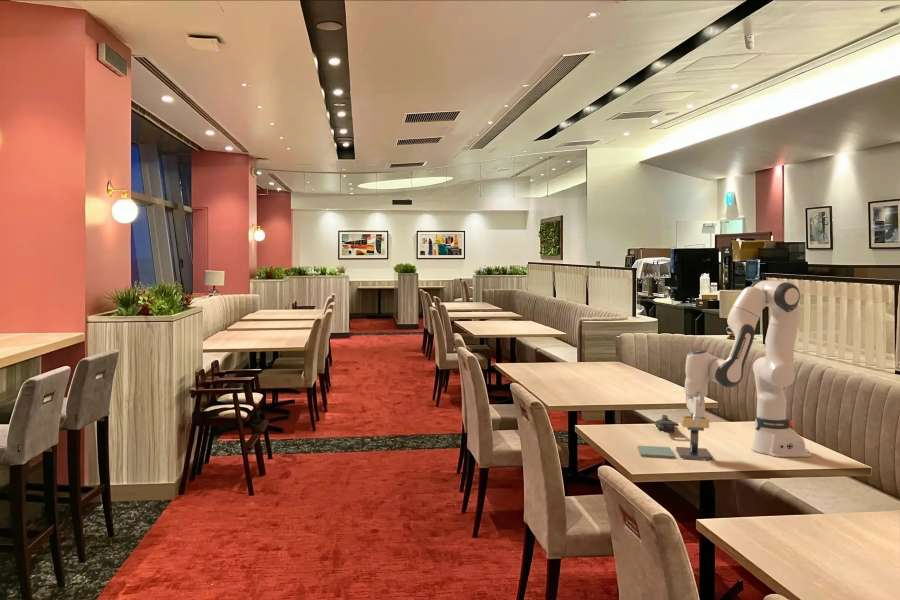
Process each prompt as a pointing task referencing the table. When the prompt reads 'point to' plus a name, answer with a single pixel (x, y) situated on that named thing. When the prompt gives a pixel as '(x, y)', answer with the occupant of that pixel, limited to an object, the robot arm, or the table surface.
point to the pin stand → (694, 447)
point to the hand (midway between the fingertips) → (694, 423)
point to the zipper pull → (665, 424)
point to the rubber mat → (656, 451)
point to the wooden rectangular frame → (689, 422)
